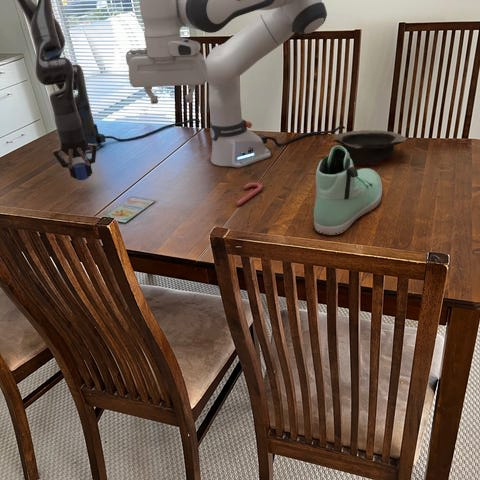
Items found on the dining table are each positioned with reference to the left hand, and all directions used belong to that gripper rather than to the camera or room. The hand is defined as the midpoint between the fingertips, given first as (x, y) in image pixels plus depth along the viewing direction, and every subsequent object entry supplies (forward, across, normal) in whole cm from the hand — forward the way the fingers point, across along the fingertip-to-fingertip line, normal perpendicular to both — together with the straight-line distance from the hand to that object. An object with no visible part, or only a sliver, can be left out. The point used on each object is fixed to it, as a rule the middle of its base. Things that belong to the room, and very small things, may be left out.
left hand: (82, 176), depth 158 cm
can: (0, 0, 0) cm, 0 cm away
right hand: (-27, +30, -27) cm, 49 cm away
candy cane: (+6, +50, -23) cm, 55 cm away
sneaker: (+6, +75, -43) cm, 86 cm away
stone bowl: (+6, +98, -9) cm, 99 cm away
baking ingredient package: (+6, +13, -19) cm, 24 cm away
